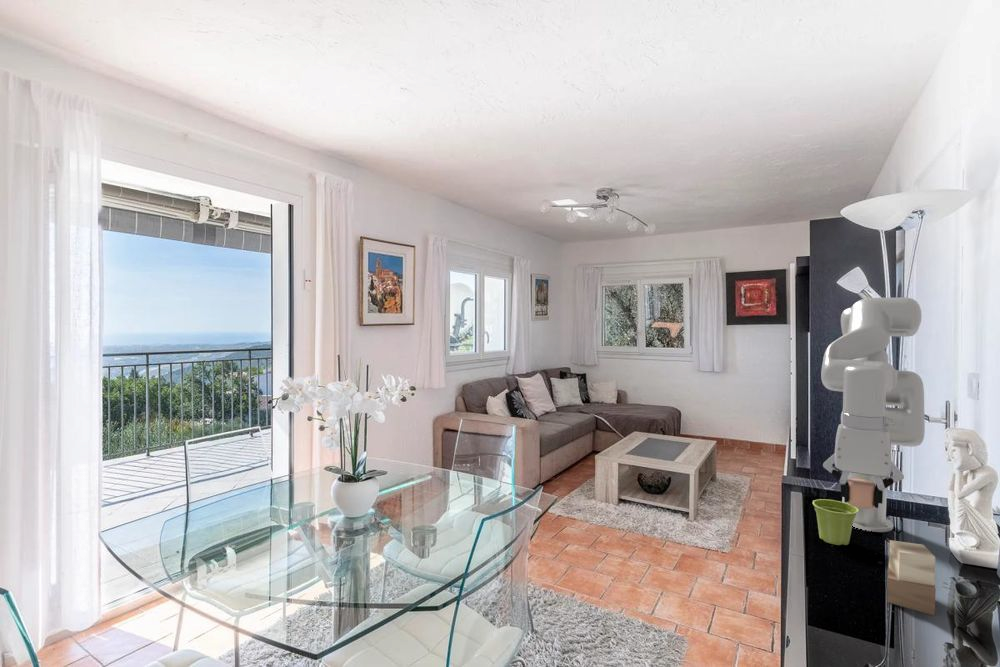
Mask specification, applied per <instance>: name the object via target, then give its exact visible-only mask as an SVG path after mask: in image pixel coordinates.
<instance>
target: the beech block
mask: <svg viewBox="0 0 1000 667" xmlns="http://www.w3.org/2000/svg"><path fill="white" fill-rule="evenodd" d="M888 545H889V551H888V564H889V568H890V569H891V570H892V572H893V573H894V574H895V576H896V577H897V578H898V580H901V581H908V582H914V583H920V584H927V585H933V586H934V583H935V582H936V581H935V578H936V556H935V555H934V554H933V553H932V551H930V550H929V549H928V548H927V547H926V545H924V544H922V543H915V542H906V541H900V540H899V541H898V540H893V539H891V540H890V539H889V544H888Z"/></svg>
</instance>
